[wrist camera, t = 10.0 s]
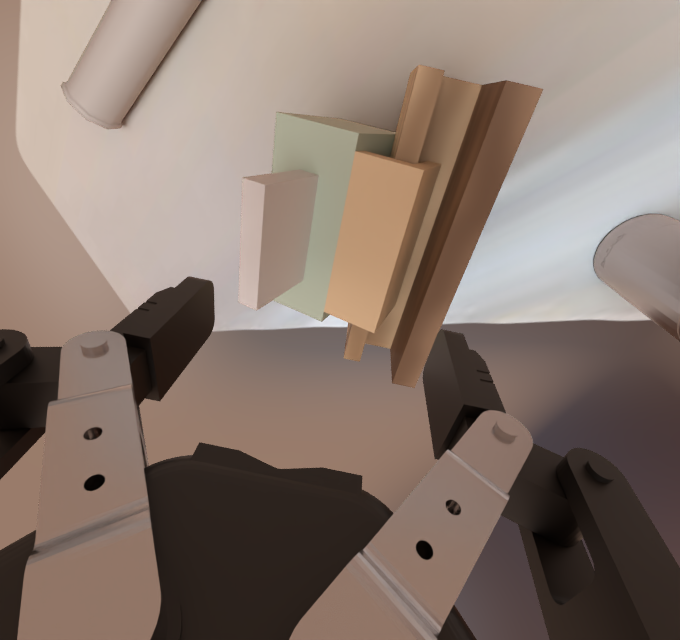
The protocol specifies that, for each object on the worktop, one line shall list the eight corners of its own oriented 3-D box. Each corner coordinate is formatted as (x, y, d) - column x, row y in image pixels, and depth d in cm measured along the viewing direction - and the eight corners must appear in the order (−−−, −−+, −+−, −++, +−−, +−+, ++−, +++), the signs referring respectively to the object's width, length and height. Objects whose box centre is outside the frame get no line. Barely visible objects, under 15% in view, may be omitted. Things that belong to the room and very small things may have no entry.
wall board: (519, 110, 35) (652, 114, 18) (443, 294, 47) (480, 401, 30) (400, 82, 35) (423, 60, 18) (354, 275, 46) (341, 372, 30)
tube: (197, -209, 24) (49, 78, 34) (243, -141, 24) (83, 123, 34) (239, -137, 29) (99, 95, 39) (277, -81, 29) (128, 134, 39)
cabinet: (456, 147, 27) (399, 156, 15) (405, 296, 35) (338, 387, 22) (341, 118, 30) (209, 104, 18) (317, 262, 38) (212, 325, 25)
